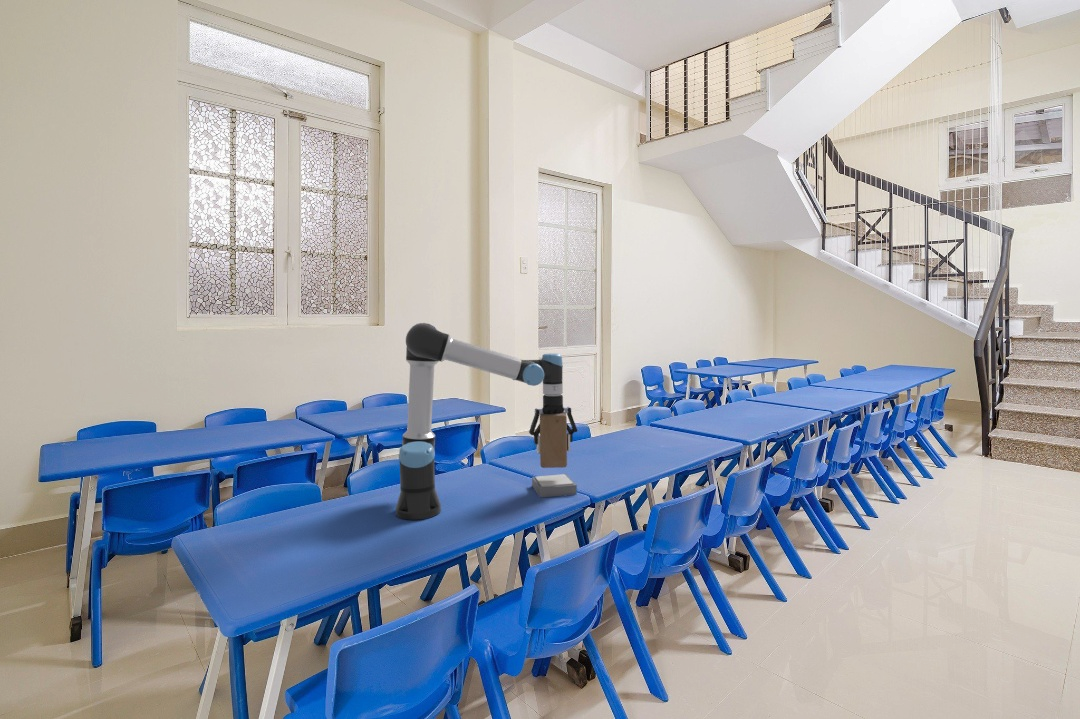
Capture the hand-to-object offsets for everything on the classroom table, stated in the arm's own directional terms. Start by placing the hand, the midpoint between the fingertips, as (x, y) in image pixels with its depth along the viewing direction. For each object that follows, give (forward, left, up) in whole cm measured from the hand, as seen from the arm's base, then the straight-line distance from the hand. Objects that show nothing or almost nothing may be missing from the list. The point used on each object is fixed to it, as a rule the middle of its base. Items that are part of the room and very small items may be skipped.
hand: (553, 451), depth 218 cm
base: (0, 0, -15) cm, 15 cm away
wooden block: (0, 0, -5) cm, 5 cm away
